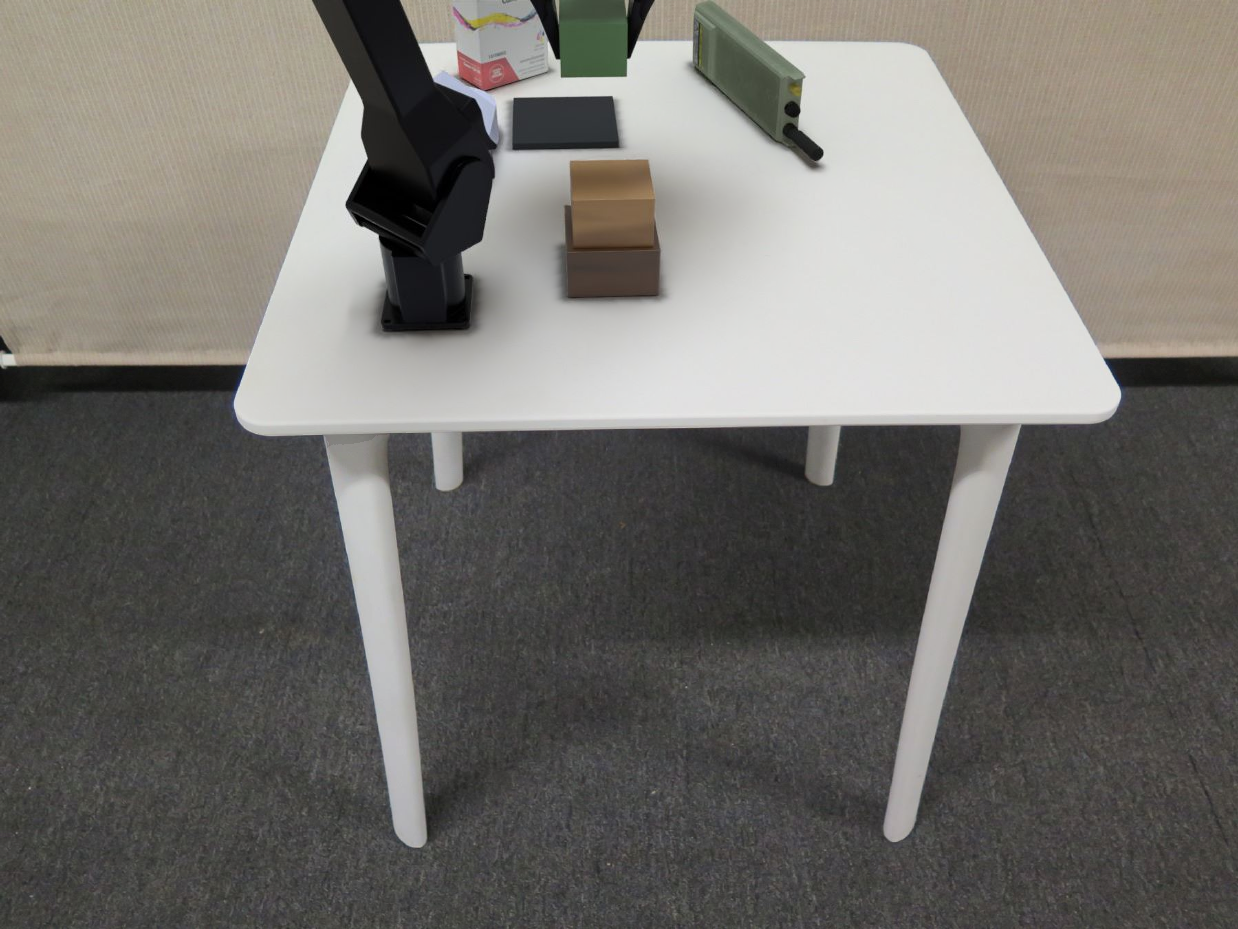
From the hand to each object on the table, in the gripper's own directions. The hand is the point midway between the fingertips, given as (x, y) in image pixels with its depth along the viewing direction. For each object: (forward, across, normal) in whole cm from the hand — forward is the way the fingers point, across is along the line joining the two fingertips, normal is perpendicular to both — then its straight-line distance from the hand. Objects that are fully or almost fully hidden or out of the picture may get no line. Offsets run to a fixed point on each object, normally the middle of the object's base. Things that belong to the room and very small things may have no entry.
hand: (593, 57), depth 78 cm
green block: (0, 0, 0) cm, 0 cm away
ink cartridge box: (+14, +9, -28) cm, 33 cm away
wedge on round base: (+13, +14, -11) cm, 22 cm away
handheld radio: (+14, -16, -19) cm, 28 cm away
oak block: (+9, -1, +10) cm, 13 cm away
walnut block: (+13, -1, +10) cm, 16 cm away
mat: (+13, +3, -16) cm, 21 cm away
